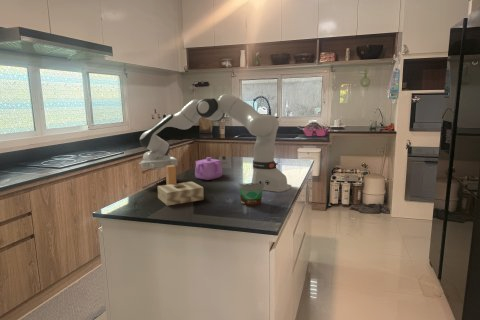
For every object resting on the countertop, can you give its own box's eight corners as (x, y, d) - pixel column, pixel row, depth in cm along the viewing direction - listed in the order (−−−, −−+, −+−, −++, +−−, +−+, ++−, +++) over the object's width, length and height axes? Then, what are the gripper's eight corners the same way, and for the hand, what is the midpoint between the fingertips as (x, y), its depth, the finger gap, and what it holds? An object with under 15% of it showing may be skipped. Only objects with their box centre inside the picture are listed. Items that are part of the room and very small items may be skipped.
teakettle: (195, 180, 199) (195, 160, 197) (194, 174, 216) (194, 155, 213) (224, 179, 202) (223, 159, 200) (221, 173, 218) (221, 154, 216)
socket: (192, 192, 173) (192, 181, 172) (203, 199, 161) (203, 187, 160) (158, 197, 164) (157, 186, 163) (167, 205, 152) (166, 192, 151)
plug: (174, 191, 176) (173, 164, 174) (176, 192, 173) (175, 166, 170) (166, 192, 174) (165, 165, 172) (169, 194, 171) (168, 167, 168)
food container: (241, 208, 148) (241, 186, 146) (237, 204, 154) (237, 182, 152) (267, 205, 151) (268, 184, 150) (263, 201, 157) (263, 181, 155)
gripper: (137, 157, 188) (143, 161, 176) (172, 154, 198) (180, 158, 186) (137, 168, 189) (144, 173, 177) (172, 165, 199) (181, 169, 187)
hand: (163, 165), depth 182 cm, fingers open, 8 cm apart
